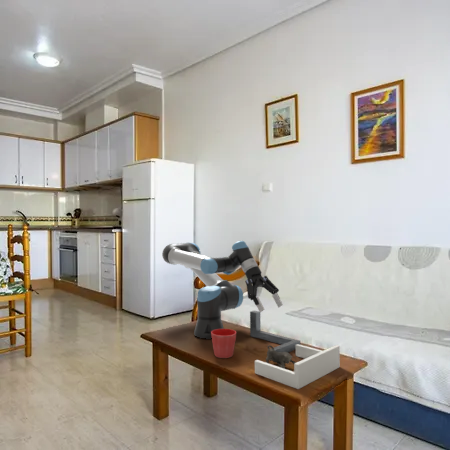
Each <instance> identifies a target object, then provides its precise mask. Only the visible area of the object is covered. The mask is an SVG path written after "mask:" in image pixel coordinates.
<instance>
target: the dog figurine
mask: <svg viewBox="0 0 450 450" xmlns="http://www.w3.org/2000/svg"><path fill="white" fill-rule="evenodd" d="M266 347H267V352H266V358H265V363H268V364H270V362H273V363H275V364H277V366H278V367H280V368H284V369H286V365H289V364H290V363H291V364H292V365H294V364H295V363H297V362H295V361H294V360H293V356H292V355H291V353H290V352H288V353H287V352H276V351H275V350H274V347H273V346H272V345H267V346H266ZM271 348H272V349H271ZM269 361H270V362H269ZM285 364H286V365H285Z"/></svg>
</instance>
